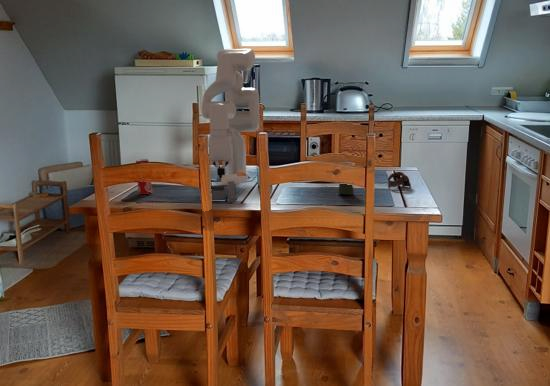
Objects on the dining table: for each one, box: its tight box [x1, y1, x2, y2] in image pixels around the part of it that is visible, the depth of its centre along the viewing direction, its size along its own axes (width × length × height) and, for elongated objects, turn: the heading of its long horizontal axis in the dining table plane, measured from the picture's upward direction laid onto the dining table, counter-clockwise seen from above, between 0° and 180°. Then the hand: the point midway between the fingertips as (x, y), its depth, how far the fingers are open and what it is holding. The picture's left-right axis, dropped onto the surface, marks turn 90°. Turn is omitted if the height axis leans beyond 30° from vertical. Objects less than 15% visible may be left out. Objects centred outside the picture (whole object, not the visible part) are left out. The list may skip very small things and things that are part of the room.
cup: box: [211, 180, 228, 200], centre depth 239 cm, size 9×7×8 cm
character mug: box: [338, 161, 356, 196], centre depth 241 cm, size 11×7×13 cm, turn 172°
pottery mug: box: [387, 171, 412, 190], centre depth 252 cm, size 12×10×8 cm
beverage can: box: [135, 158, 153, 195], centre depth 250 cm, size 6×6×15 cm
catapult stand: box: [226, 181, 239, 203], centre depth 239 cm, size 14×4×8 cm, turn 1°
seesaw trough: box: [216, 170, 249, 186], centre depth 241 cm, size 13×13×3 cm
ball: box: [237, 170, 246, 176], centre depth 237 cm, size 4×4×4 cm
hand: (221, 177), depth 245 cm, fingers closed
